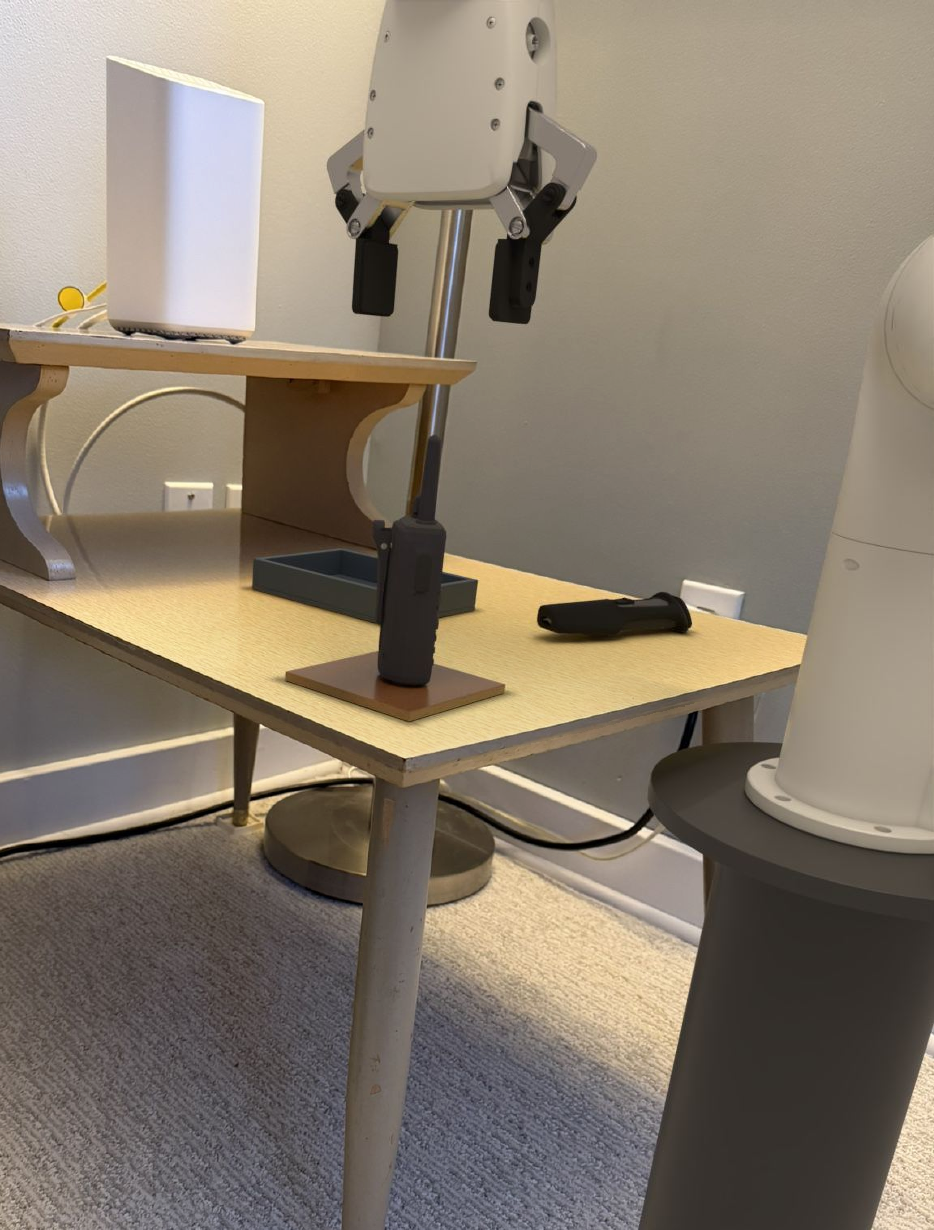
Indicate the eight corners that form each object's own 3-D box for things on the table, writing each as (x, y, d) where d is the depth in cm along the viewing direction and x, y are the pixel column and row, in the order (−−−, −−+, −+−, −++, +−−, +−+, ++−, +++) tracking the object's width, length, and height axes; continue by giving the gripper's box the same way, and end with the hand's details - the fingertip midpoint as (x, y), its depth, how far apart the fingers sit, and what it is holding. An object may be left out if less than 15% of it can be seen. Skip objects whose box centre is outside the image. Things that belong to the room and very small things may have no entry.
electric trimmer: (521, 637, 90) (526, 597, 89) (660, 622, 99) (666, 585, 97) (553, 649, 88) (559, 608, 86) (694, 633, 96) (701, 595, 95)
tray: (474, 610, 97) (478, 579, 96) (391, 627, 89) (394, 593, 88) (338, 576, 106) (341, 547, 105) (251, 588, 98) (253, 558, 97)
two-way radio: (435, 691, 71) (463, 439, 66) (363, 687, 71) (386, 433, 66) (423, 667, 77) (448, 431, 71) (356, 663, 76) (376, 425, 71)
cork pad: (504, 693, 75) (505, 684, 74) (408, 721, 67) (409, 712, 67) (384, 657, 81) (385, 649, 80) (284, 680, 73) (285, 671, 73)
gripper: (654, -40, 58) (605, 329, 64) (385, 2, 68) (364, 316, 74) (577, -87, 52) (531, 321, 58) (297, -34, 63) (282, 308, 69)
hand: (438, 318), depth 66 cm, fingers open, 9 cm apart
